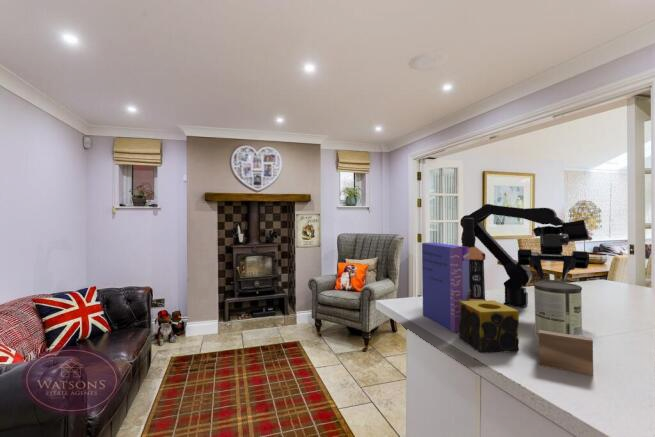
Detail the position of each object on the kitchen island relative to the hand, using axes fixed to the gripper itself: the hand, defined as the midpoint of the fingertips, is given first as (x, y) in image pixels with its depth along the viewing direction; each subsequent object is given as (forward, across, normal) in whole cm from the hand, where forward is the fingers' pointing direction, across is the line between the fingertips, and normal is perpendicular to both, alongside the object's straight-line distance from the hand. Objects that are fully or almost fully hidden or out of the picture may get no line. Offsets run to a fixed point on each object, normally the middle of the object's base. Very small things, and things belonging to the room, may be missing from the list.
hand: (552, 279), depth 98 cm
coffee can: (+21, 0, -3) cm, 21 cm away
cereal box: (+23, -28, -5) cm, 36 cm away
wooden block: (+33, 0, -15) cm, 36 cm away
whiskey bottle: (+7, -24, +11) cm, 28 cm away
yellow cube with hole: (+31, -15, -13) cm, 37 cm away
